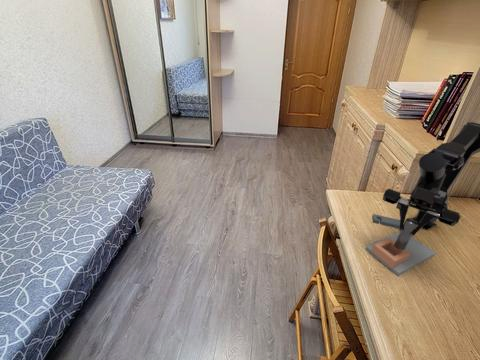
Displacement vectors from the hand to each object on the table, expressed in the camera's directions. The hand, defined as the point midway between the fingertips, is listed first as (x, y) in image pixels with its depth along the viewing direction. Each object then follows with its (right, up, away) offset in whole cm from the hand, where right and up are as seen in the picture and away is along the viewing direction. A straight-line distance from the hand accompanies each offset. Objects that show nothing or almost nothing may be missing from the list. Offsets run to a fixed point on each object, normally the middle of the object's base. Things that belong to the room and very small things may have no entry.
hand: (406, 232), depth 75 cm
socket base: (+5, -9, +11) cm, 15 cm away
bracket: (+8, -2, +25) cm, 26 cm away
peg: (+1, -5, +4) cm, 7 cm away
